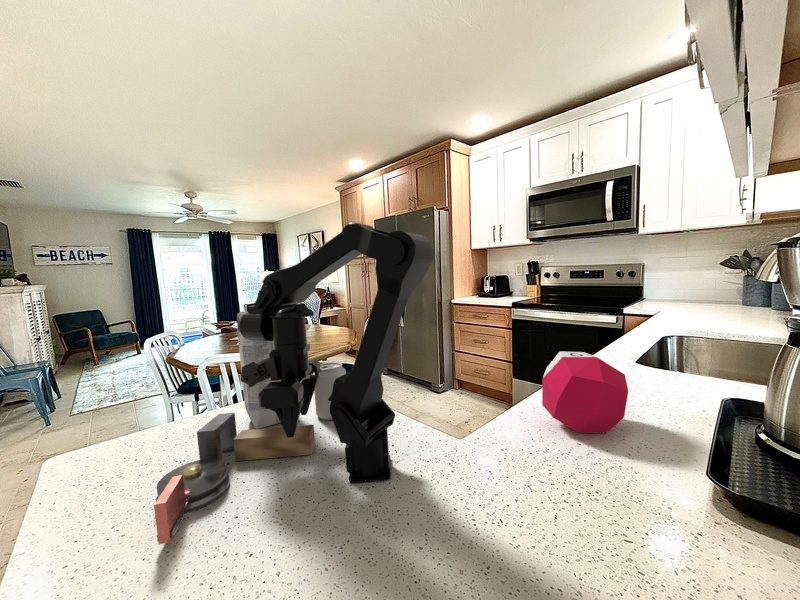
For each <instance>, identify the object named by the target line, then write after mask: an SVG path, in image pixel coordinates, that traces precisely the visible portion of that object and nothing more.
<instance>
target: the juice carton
mask: <svg viewBox="0 0 800 600" xmlns="http://www.w3.org/2000/svg"><path fill="white" fill-rule="evenodd" d="M246 313H247V311H239V312H238V313H237V315H236V327H237V330H236V331H237V341H238V352H239V361H240V362H239V364H240V373H241V372H242V367H243V366H244V365H246V364H249V363H251V362H255V363H258V362H261V361H263V360H265V359H267V358H269V353H270V352H271V351H272V350H274V341H259V340H248V339H246V338H244V337H243V336H242V335H241V333H240V330H239V324H240V321H241V319H242V317H243V316H244V315H245V314H246ZM278 381H281V380H277V381H271V380H270V378H268V379H266V380H263V381H261V382H259V383H257V384H255V386H253V387H250V388H249V386H248V384H246V383H244V382H241V383H242V390H243V391H242V392H243V400H244V406H245V407H244V408H245V410H246V413H247V416H248V417H249V419H250V421H251V423H252V425H253V427H254V428H255V429H265V428H268V427H270V426H273V425H274V426H275V425H277V424H281V422H280V420H279V418H278V416H277V414H276V413H275V412H274V411H272V410H271V409H265V408H264V407H260V406H259V400H258V394H259V393H260V392H261V391H262V390H263V389H264V388H265V387H266V386H267V385H268V384H269V383H270V382H278Z"/></svg>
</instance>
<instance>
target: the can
mask: <svg viewBox="0 0 800 600" xmlns="http://www.w3.org/2000/svg"><path fill="white" fill-rule="evenodd" d="M320 369H321V372H320V373H319V378H318V381H317V384H316V387H315V390H314V393H313V395H314V403H315V404H314V405H315V414H316V416H317V417H319V419H321V420H323V421H333V420H332V416H331V414H330V410H329V408H330V403H331V401H328V398H329V397H330V396H331V394H332V391H333V384H334V381H335V379H336V378H338V377H340V376H342V375H345V374H347V373H346V372H347V371H346V370H347V369H345V368H344V367H343V363H342V362H339V361H329V362H324V363H320ZM312 375H315V373H314V372H312Z"/></svg>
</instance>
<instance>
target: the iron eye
mask: <svg viewBox="0 0 800 600" xmlns="http://www.w3.org/2000/svg"><path fill="white" fill-rule="evenodd" d="M196 435H197V437H196V438H197V445H198V455H199V460H202V459H210V458H215V459H221V460H223V461H224V459H223V453H231V452H234V442H233V439H234V438H235V437H236V436H237V435H238V433H237V422H236V414H235V412H229V413H228V412H226V413H218V414H217V415H216V416H214V417H213V418H212V419H211V420H209V421H208V422H207V423H205V425H203V426H202V427H201V428H199V429H198V430H197V431H196Z"/></svg>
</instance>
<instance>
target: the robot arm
mask: <svg viewBox="0 0 800 600" xmlns="http://www.w3.org/2000/svg"><path fill="white" fill-rule="evenodd" d="M361 255H363V256H365V257H368V258H371V259H372V260H373V259H374V260H376V261H375V269H374V270H375V271H374V272H375V276H376V282H377V291H376V294H375V297H374V299H373V303H372V307H371V310H370V311H369V312H370V313H369V316H368V319H367V321H366V326H365V329H364V332H363V335H362V339H361V341H360V344H359V347H358V351H357V354H356V357H355V361H354V363H353V365H352V369H351V371H350V372H349V371H348V372H347V373H346V374H345V375H342V376H340V377H338V378H336V379H335V381H334V384H333V391H332V394H331V396H330V397H329V398H328V401H331V403H330V408H329V410H330V414H331V416H332V420H331V421H332V422H333V425H334V428H335V431H336V433H337V436H338V439H339V441H340V443H341V444H345V446H344V453H345V455H344V456H345V466H346V473H347V474H348V473H349V475H348V482H349V483H350V484H354V483H364V482H367V483H368V482H377V481H385V480H386V481H387V480H390V479H392V477H391V476H392V473H391V471H392V470H391V469H392V467H391V455H390V447H389V435H388V428H389V427H391V426H393V425H394V422H395V418H396V413H395V412H394V410H392V409H391V407H390V406H389V405H388V403H386V401H385V400H384V399H383V395H384V385H383V380H382V374H383V372H384V369H385V366H386V363H387V360H388V358H389V354H390V352H391V349H392V346H393V343H394V340H395V337H396V334H397V332H398V329H399V326H400V322H401V320H402V317H403V315H404V311H405V308H406V306H407V304H408V303H407V302H408V300H409V297H410V296H411V294H412V293H413V292H415V291H414V290H415V289H416V288H417V287H418V286H419V284H420V283H421V282H422V281H423V279H424V277H425V276H426V274H427V272H428V270H429V269H430V267H431V265H432V264H433V260H434V258H435V249H434V247H433V245H432V243H431V241H430V240H429V238H427V237H426V236H424V235H422V234H419V233H418V234H417V233H413V232H412V233H411V232H408V231H402V230H394V231H391V232H389V231H384V230H381V229H378V228H375V227H373V226H372V225H369V224H364V223H359V222H350V223H348V224H346V225H345V226H344V227H343V228H342V230H341V231H340V232H339V233H337V234H336V235H335V236H333V237H332V238H331V239H329V240H328V241H326V242H325V243H323V245H320V246H319V248H317V249H316V250H314V251H313V252H312V253H310V254H309V255H307V256H306V257H305V258H303V259H302V260H301V261H299V262H298V263H296V264H294V265H290V266H288V267H283V268H280V269H278V270H275V271H273V272H271V273H269V274H267V275H266V276H265V277H264V278H263V280H262V286H261V287H260V291H259V292H258V295H257V297H256V300H255V301H254V303H253V305H248V306H247V307H246V310H247V313H246V314H245V315H244V316H243V317H242V319H241V321H240V324H239V330H240V333H241V335H242V336H243V337H244V338H246V339H248V340H259V341H274V350H272V351H271V352H270V353H269V358H267V359H265V360H263V361H261V362H258V363H255V362H251V363H249V364H246V365H244V366H243V367H242V372H241V371H240V379H239V380H240V382H241V383H242V382H244V383H246V384H248V386H249V388H250V387H253V386H255V384H257V383H259V382H261V381H263V380H266V379H268V378H270V380H271V381H277V380H281V381H278V382H270V383H269V384H268V385H267V386H266V387H265V388H264V389H263V390H262V391H261V392H260V393H259V394H258V400H259V406H260V407H264V408H265V409H271V410H272V411H274V412H275V413H276V414H277V416H278V418H279V420H280V422H281V423H280V424H281V427H283V429H284V431H285V434H286V436H287V437H288V438H290V437H294V434H295V431H296V427H297V426H298V423H299V419H300V415H301V416H306V415H307V414H308V412H309V408H310V405H311V402H312V399H313V395H314V390H315V387H316V384H317V381H318V378H319V373H320V372H321V369H320V364H321V362H320V361H319V360H317V359H316V358H313V359H309V351H310V349H311V345H310V344H311V343H308V339H307V326H306V318H308V317H313V316H314V315H315V313H314V311H313V310H312V309H310V308H309V307H308V306H307V305H306V304H305V303H304V302H305V301H306V300H307V299H308V298H310V296H311V295H312V294H313V293H314V292H315V290H316V287H317V285H318V284H319V283H321V282H322V281H323V280H325V279H326V278H327V277H329V276H331V275H332V274H334V273H336V272H337V271H338V270H339V269H341V268H343V267H344V266H345V265H347V264H349V263H350V262H351V261H354V260H355V259H356V258H358V257H359V256H361ZM313 373H315V375H313Z"/></svg>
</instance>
